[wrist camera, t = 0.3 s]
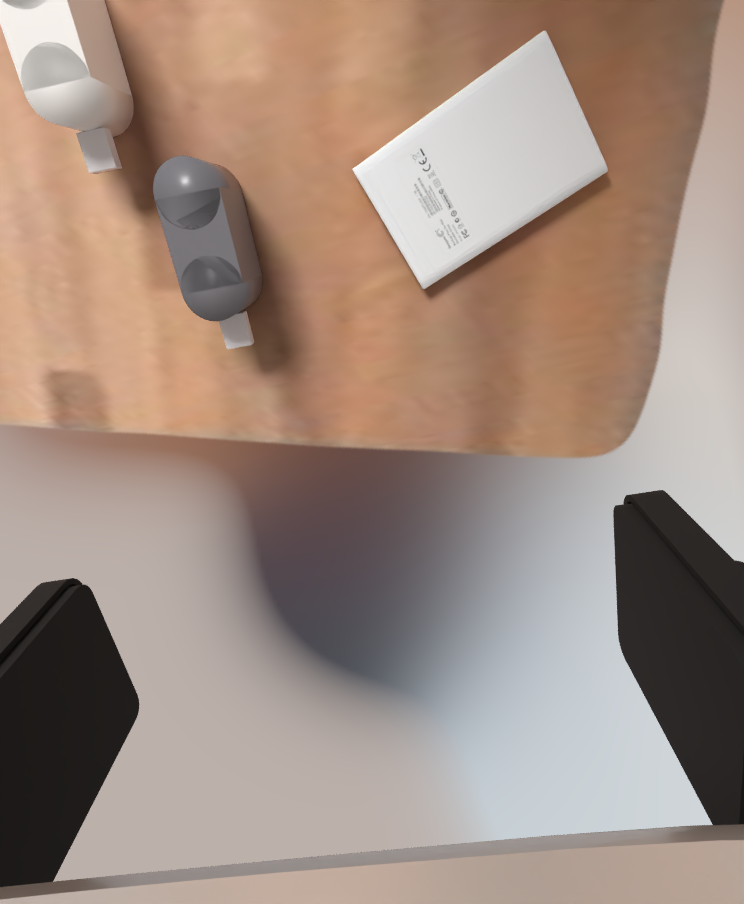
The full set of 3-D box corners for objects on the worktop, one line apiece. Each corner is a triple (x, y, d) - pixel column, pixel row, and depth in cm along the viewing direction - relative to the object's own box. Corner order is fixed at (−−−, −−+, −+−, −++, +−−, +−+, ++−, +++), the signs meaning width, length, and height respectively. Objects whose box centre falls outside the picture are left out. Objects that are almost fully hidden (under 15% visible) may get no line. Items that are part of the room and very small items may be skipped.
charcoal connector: (176, 170, 35) (143, 163, 30) (234, 158, 35) (209, 149, 30) (224, 342, 39) (201, 359, 34) (275, 333, 39) (260, 349, 34)
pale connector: (28, -33, 31) (-35, -76, 27) (90, -48, 31) (37, -95, 26) (96, 179, 35) (52, 173, 31) (152, 167, 35) (116, 160, 30)
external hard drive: (600, 173, 35) (422, 288, 38) (538, 36, 32) (352, 170, 35) (610, 171, 33) (423, 290, 36) (545, 27, 31) (351, 168, 34)
